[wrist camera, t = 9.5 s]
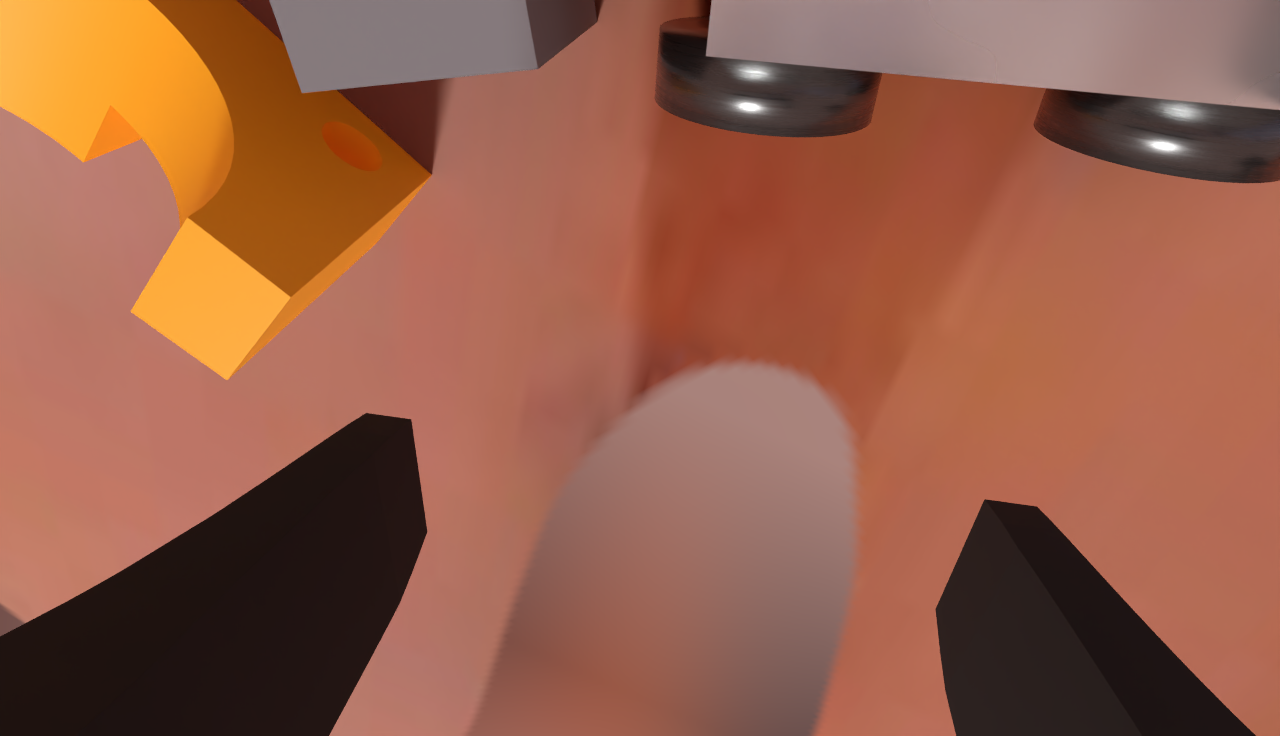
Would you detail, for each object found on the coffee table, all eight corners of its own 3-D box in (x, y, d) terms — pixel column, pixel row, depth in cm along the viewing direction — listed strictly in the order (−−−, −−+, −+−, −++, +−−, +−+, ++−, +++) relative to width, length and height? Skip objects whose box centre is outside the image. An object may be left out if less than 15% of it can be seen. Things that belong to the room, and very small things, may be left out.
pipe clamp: (-108, -82, 16) (-540, -67, 11) (-64, -272, 14) (-571, -370, 9) (345, 281, 20) (190, 428, 14) (433, 173, 18) (290, 297, 12)
